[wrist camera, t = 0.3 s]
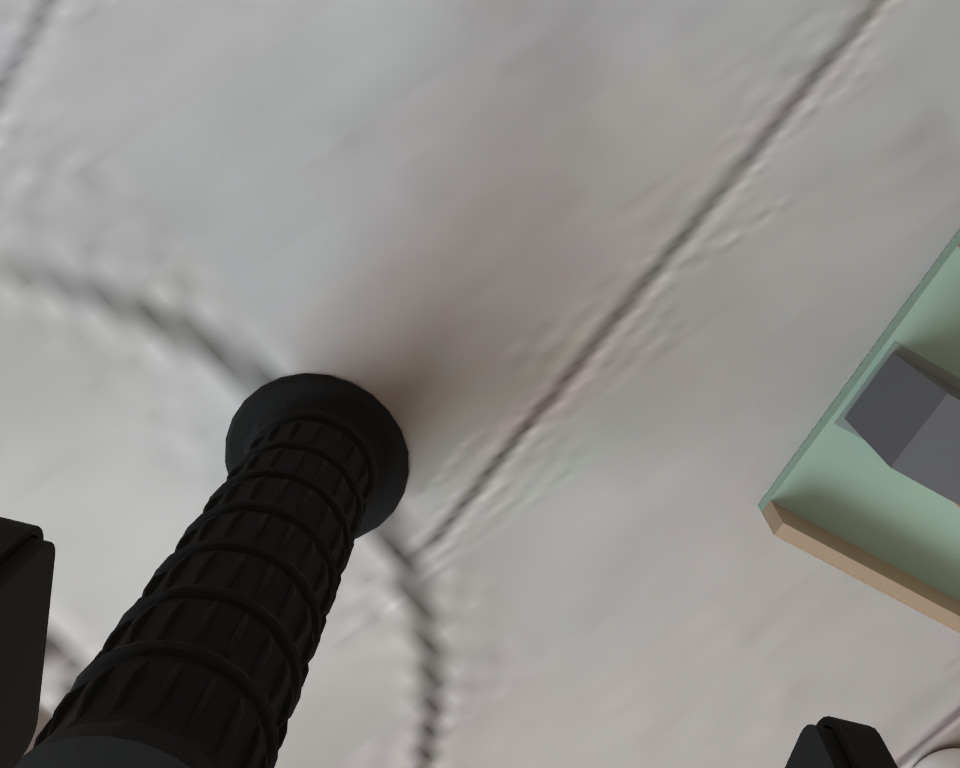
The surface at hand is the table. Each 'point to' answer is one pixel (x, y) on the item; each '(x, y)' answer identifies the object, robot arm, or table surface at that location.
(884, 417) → the grey cube yellow base
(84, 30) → the table surface
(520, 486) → the table surface
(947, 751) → the drinking glass
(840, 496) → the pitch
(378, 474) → the handle grip
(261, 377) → the table surface
